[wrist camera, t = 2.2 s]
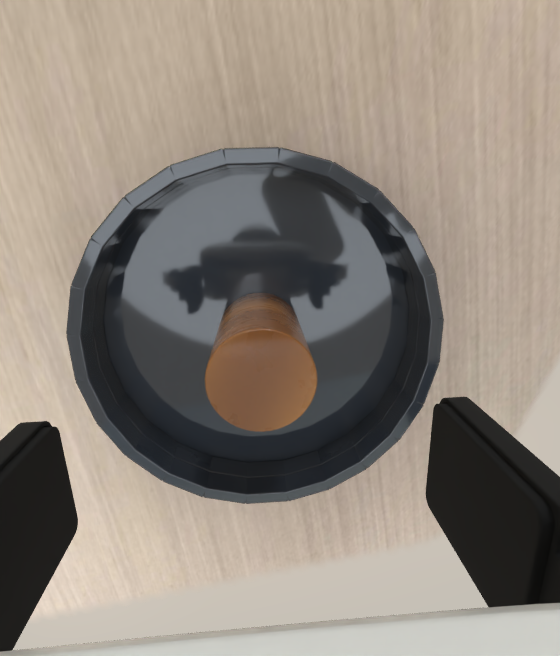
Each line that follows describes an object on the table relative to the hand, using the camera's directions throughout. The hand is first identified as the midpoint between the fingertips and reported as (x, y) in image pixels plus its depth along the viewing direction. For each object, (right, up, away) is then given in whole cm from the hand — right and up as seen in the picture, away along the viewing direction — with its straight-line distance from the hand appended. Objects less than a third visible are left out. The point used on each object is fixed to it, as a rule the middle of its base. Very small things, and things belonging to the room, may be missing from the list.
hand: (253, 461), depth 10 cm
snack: (0, +3, +10) cm, 10 cm away
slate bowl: (0, +3, +10) cm, 11 cm away
